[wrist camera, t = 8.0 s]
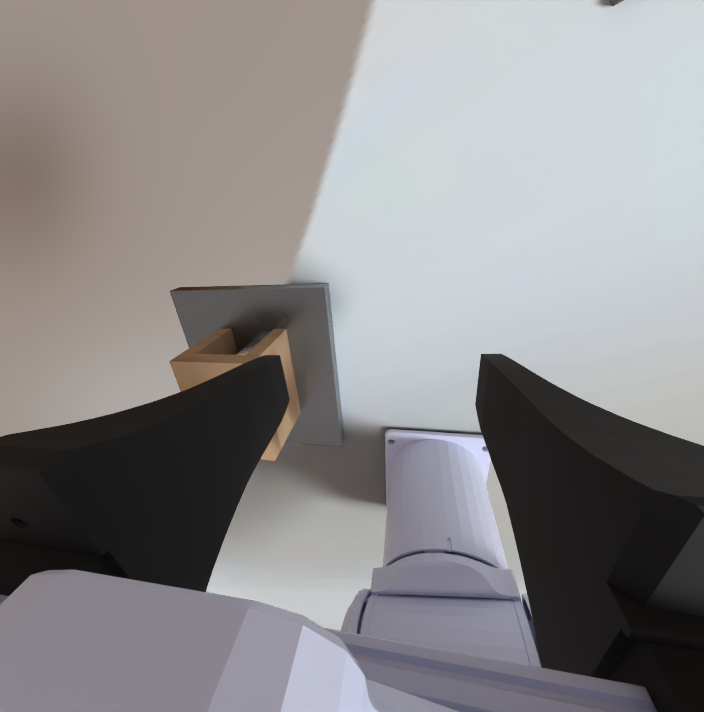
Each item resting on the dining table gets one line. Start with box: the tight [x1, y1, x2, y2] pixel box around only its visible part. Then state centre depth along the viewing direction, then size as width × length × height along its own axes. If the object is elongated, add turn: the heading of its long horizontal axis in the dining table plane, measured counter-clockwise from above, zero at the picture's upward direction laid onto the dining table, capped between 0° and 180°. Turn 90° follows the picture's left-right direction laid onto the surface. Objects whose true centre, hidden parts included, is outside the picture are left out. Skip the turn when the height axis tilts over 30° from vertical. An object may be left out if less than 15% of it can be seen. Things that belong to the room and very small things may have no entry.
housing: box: [170, 329, 301, 461], centre depth 20 cm, size 7×5×5 cm
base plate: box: [170, 283, 344, 447], centre depth 22 cm, size 13×11×4 cm
